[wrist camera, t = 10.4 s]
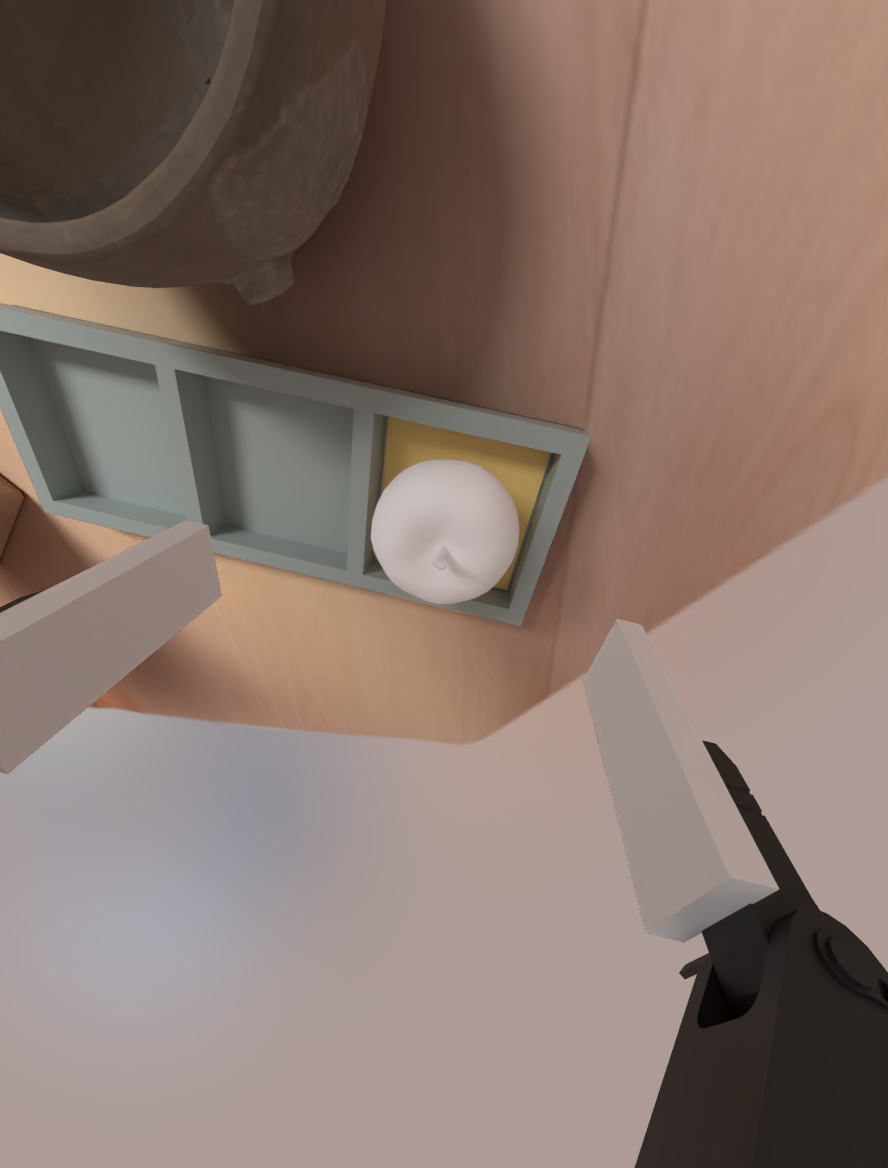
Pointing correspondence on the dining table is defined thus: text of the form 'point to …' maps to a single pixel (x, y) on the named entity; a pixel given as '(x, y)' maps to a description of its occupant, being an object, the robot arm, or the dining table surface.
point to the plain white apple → (445, 530)
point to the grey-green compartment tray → (259, 451)
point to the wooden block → (8, 510)
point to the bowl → (179, 134)
